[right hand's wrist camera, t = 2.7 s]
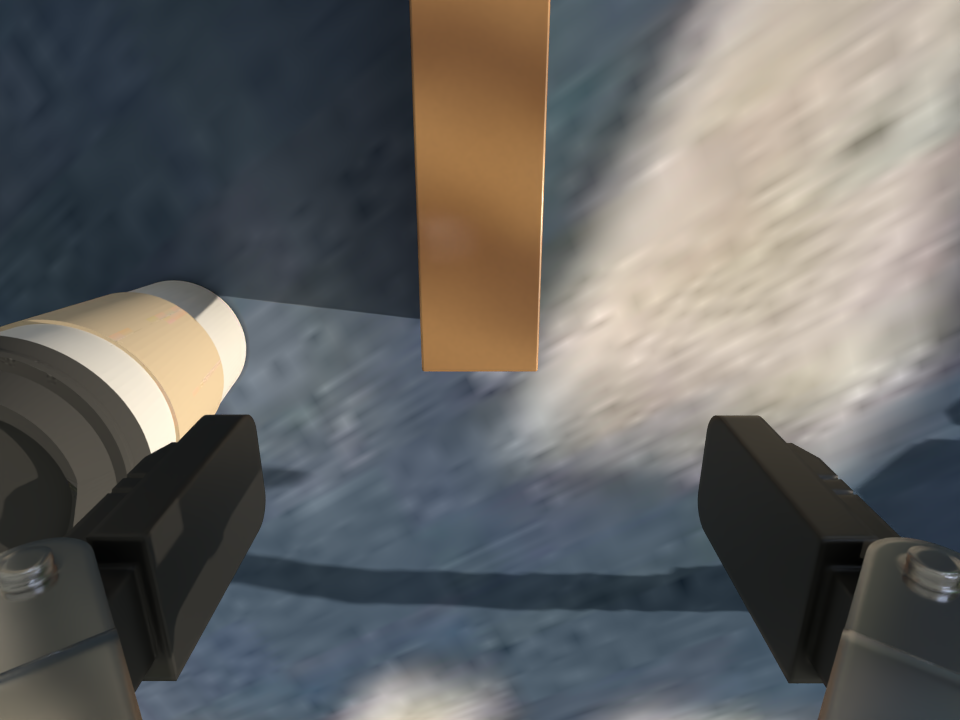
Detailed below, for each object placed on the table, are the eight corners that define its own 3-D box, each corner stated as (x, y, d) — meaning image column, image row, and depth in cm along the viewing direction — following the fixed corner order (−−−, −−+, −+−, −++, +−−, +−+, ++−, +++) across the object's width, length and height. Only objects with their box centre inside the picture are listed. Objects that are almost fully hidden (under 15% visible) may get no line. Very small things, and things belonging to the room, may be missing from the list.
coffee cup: (76, 375, 34) (-207, 549, 20) (124, 227, 31) (-166, 309, 17) (233, 444, 36) (72, 650, 21) (292, 308, 33) (152, 444, 19)
